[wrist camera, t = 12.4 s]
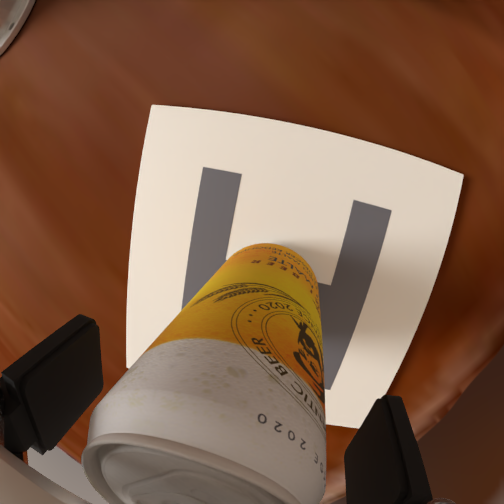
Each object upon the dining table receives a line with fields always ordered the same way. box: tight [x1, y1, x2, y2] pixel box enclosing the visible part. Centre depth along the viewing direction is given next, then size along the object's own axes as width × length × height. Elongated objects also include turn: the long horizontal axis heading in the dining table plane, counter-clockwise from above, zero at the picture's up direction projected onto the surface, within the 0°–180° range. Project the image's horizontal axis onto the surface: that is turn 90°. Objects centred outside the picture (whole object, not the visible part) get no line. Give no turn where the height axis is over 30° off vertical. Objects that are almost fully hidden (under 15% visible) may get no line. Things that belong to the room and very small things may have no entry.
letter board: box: [126, 105, 464, 428], centre depth 20 cm, size 20×20×1 cm
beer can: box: [81, 243, 326, 504], centre depth 12 cm, size 6×6×15 cm
